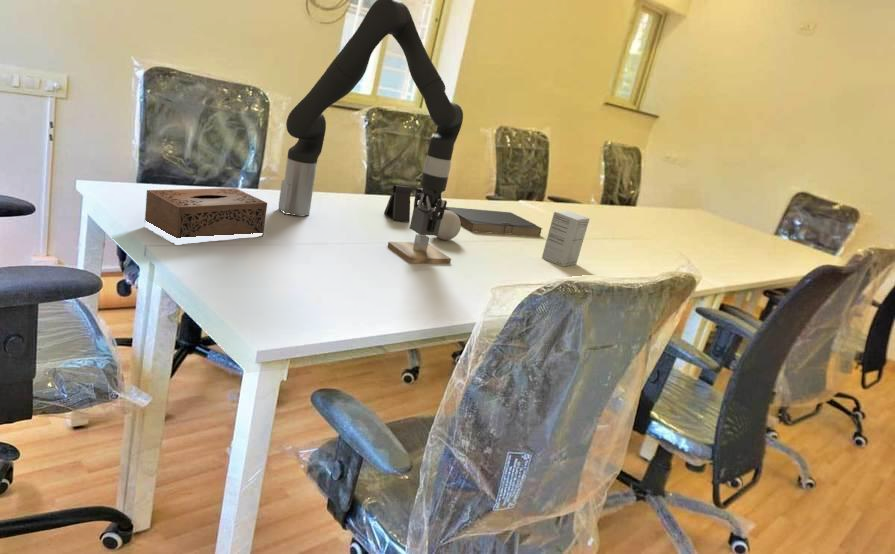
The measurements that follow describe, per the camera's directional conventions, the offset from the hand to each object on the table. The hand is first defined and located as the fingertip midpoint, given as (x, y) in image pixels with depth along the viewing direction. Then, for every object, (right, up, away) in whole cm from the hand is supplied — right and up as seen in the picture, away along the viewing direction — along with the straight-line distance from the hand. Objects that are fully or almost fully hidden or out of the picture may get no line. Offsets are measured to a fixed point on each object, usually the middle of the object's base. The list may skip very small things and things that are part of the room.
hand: (424, 227), depth 187 cm
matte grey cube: (-1, -7, +2) cm, 7 cm away
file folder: (+24, +6, +62) cm, 67 cm away
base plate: (-2, -8, +3) cm, 9 cm away
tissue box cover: (-57, -3, -19) cm, 61 cm away
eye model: (+5, -2, +26) cm, 26 cm away
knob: (0, -1, 0) cm, 1 cm away
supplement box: (+45, -9, +31) cm, 56 cm away
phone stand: (-11, +6, +39) cm, 41 cm away
